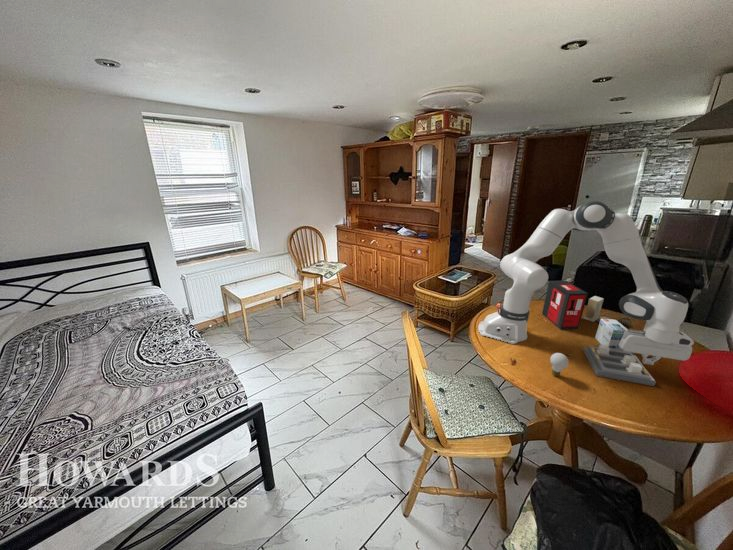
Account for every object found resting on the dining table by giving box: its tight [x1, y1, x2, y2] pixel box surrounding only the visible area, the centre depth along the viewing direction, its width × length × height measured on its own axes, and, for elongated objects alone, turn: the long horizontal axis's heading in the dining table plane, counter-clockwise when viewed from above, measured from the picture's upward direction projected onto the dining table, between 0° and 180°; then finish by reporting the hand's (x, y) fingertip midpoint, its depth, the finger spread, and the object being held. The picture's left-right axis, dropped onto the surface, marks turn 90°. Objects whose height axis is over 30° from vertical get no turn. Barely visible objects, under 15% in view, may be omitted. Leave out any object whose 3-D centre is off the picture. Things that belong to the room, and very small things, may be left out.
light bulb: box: [549, 352, 569, 377], centre depth 112 cm, size 6×6×10 cm
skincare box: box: [583, 295, 605, 323], centre depth 151 cm, size 6×4×12 cm
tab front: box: [626, 362, 642, 374], centre depth 111 cm, size 4×3×4 cm
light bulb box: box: [594, 318, 629, 351], centre depth 130 cm, size 11×7×11 cm, turn 168°
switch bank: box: [583, 345, 657, 387], centre depth 117 cm, size 18×17×3 cm
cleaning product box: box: [541, 280, 589, 331], centre depth 149 cm, size 16×9×20 cm, turn 179°
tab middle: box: [620, 355, 636, 365], centre depth 115 cm, size 4×3×4 cm
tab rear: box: [596, 344, 610, 355], centre depth 122 cm, size 4×3×4 cm
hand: (647, 363), depth 113 cm, fingers closed
